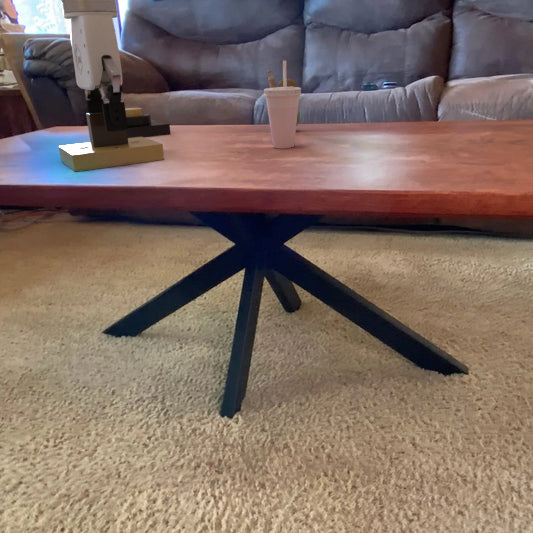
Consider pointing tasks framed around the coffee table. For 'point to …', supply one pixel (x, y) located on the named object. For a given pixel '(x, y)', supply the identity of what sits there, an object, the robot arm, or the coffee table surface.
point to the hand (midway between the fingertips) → (108, 127)
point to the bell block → (146, 127)
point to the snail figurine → (289, 84)
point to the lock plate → (110, 154)
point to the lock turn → (103, 132)
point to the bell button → (133, 112)
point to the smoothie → (283, 112)
